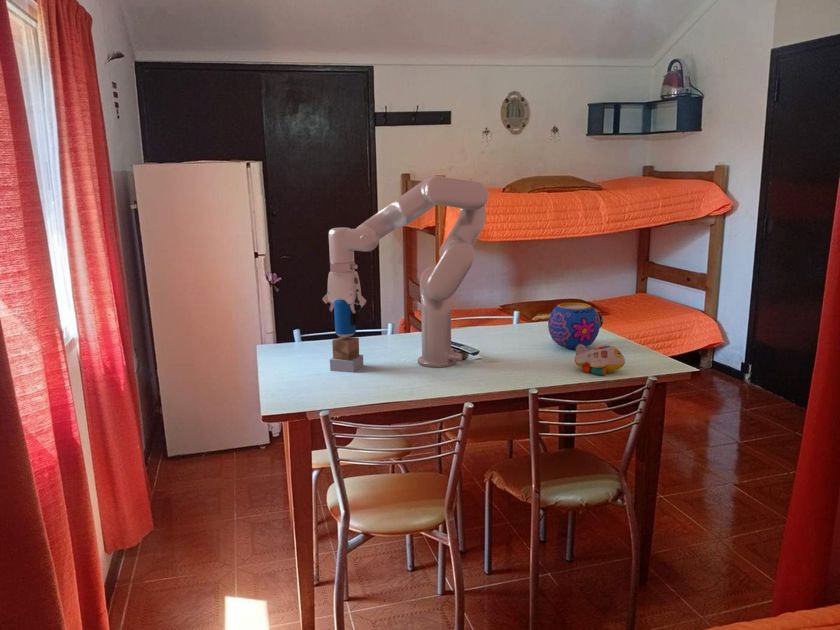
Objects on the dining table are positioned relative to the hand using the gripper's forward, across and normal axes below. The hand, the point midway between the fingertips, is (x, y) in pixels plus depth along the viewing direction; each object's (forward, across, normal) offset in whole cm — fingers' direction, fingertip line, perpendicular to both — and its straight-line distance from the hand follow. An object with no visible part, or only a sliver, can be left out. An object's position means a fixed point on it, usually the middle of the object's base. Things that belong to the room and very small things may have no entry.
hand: (345, 323), depth 212 cm
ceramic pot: (+15, -60, -53) cm, 81 cm away
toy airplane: (+15, -74, -27) cm, 80 cm away
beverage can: (+4, 0, 0) cm, 4 cm away
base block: (+15, 0, 0) cm, 15 cm away
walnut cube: (+11, 0, 0) cm, 11 cm away
